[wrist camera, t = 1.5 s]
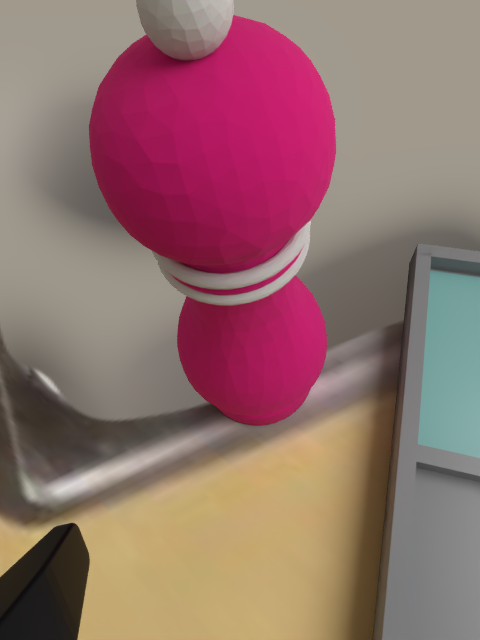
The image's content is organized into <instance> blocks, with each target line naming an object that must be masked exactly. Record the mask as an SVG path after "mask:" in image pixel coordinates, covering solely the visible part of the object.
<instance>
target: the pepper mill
mask: <svg viewBox="0 0 480 640" xmlns="http://www.w3.org/2000/svg"><path fill="white" fill-rule="evenodd" d="M136 3H137V9H138V13H139V17H140V21H141V24H142V26H143V28H144V31H145V33H146V34H147V35H145V36H143V37H142V38H140V39H139V40H137V41H136V42H134V43H133V44H132V45H131V46H130V47H129V48H127V50H125V51H124V52H123V53H122V54H121V55H120V56H119V57H118V58H117V59H116V61H115V63H114V64H113V65H112V67H111V69H110V70H109V71H108V73H107V75H106V76H105V78H104V79H103V81H102V83H101V84H100V86H99V88H98V91H97V95H96V98H95V102H94V105H93V108H92V114H91V119H90V124H89V137H90V151H91V159H92V166H93V169H94V173H95V176H96V179H97V182H98V185H99V188H100V190H101V192H102V194H103V196H104V198H105V201H106V202H107V204H108V207H109V209H110V210H111V212H112V213H113V215H114V216H115V217H116V219H117V220H118V221H119V222H120V224H121V225H122V226H123V227H124V228H125V229H126V231H127V232H128V233H129V234H130V235H131V236H132V237H134V238H135V239H136V240H137V241H139V242H140V243H141V244H142V245H144V246H145V247H147V248H149V249H151V250H152V252H153V254H154V256H155V258H156V260H157V261H158V265H159V267H160V269H161V272H162V273H163V275H164V276H165V278H166V279H167V280H168V281H169V282H170V284H171V285H172V286H174V287H175V288H176V289H177V290H178V291H180V292H181V293H183V294H184V295H186V296H187V297H186V299H185V302H184V305H183V307H182V311H181V314H180V317H179V324H178V336H177V337H178V339H177V340H178V341H177V343H178V351H179V357H180V361H181V363H182V366H183V369H184V371H185V374H186V376H187V378H188V380H189V382H190V383H191V385H192V386H193V387H194V389H195V390H196V391H197V392H198V393H199V394H200V395H201V396H202V397H203V398H204V399H205V400H206V401H208V402H209V403H211V404H213V405H214V406H216V407H217V408H218V409H219V410H220V411H221V412H222V413H224V414H225V415H226V416H228V417H229V418H231V419H233V420H235V421H237V422H241V423H244V424H249V425H268V424H272V423H276V422H278V421H281V420H283V419H285V418H287V417H288V416H290V415H291V414H292V413H294V412H295V411H296V410H297V409H298V408H299V407H300V406H301V405H302V403H303V402H304V401H305V399H306V397H307V396H308V394H309V391H310V389H311V387H312V386H313V385H314V383H315V382H316V380H317V379H318V377H319V375H320V373H321V370H322V368H323V366H324V362H325V358H326V350H327V337H326V336H327V335H326V327H325V321H324V319H323V316H322V313H321V310H320V308H319V306H318V304H317V302H316V300H315V298H314V296H313V295H312V293H311V292H310V291H309V290H308V288H307V287H306V286H305V285H304V284H303V283H302V281H300V279H298V277H296V276H295V274H296V273H297V272H298V271H299V269H300V267H301V266H302V264H303V262H304V260H305V257H306V255H307V252H308V248H309V244H310V225H311V218H312V217H313V215H314V214H315V212H316V211H317V209H318V207H319V205H320V203H321V202H322V200H323V197H324V195H325V193H326V191H327V189H328V187H329V184H330V180H331V175H332V171H333V167H334V161H335V154H336V140H335V118H334V115H333V110H332V106H331V102H330V97H329V94H328V92H327V90H326V88H325V85H324V83H323V81H322V79H321V77H320V75H319V73H318V72H317V70H316V68H315V67H314V65H313V64H312V62H311V60H310V59H309V58H308V57H307V56H306V55H305V53H304V52H303V51H302V50H301V49H300V48H299V47H298V46H297V45H296V44H295V43H293V42H292V41H291V40H290V39H288V38H287V37H286V36H284V35H283V34H280V33H279V32H278V31H276V30H274V29H273V28H271V27H270V26H268V25H266V24H264V23H261V22H257V21H254V20H250V19H246V18H243V17H238V16H235V15H233V10H234V9H233V0H136Z"/></svg>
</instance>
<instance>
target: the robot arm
mask: <svg viewBox="0 0 480 640" xmlns="http://www.w3.org/2000/svg"><path fill="white" fill-rule="evenodd" d="M89 564H90V559H89V553H88V550H87V547H86V545H85V542H84V540H83V537H82V534H81V532H80V529H79V527H78V526H77V525H76V524H75V523H69V524H64V525H59V526H56V527H54V528H53V529H52V530H51V531H50V532H49V533H48V534H47V535H45V536H44V537H43V538H42V539H41V540H40V541H39V542H38V543H37V544H36V545H35V546H34V547H32V548H31V549H30V550H29V551H28V552H27V553H26V554H25V555H24V556H23V557H22V558H21V559H19V560H18V561H17V562H16V563H15V564H14V565H13V566H12V567H11V568H10V569H9V570H8V571H6V572H5V573H4V574H3V575H2V576H1V577H0V640H77V638H78V633H79V627H80V620H81V614H82V608H83V602H84V596H85V589H86V583H87V577H88V571H89Z"/></svg>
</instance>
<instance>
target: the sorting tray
mask: <svg viewBox="0 0 480 640" xmlns="http://www.w3.org/2000/svg"><path fill="white" fill-rule="evenodd" d="M373 640H480V251H472V250H464V249H456V248H449V247H441V246H434V245H425V244H417V247H416V249H415V251H414V254H413V256H412V259H411V261H410V264H409V274H408V284H407V295H406V305H405V316H404V325H403V335H402V345H401V356H400V366H399V376H398V386H397V396H396V407H395V417H394V427H393V437H392V447H391V458H390V468H389V478H388V488H387V498H386V509H385V519H384V529H383V539H382V549H381V559H380V570H379V580H378V590H377V600H376V610H375V621H374V631H373Z"/></svg>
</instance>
